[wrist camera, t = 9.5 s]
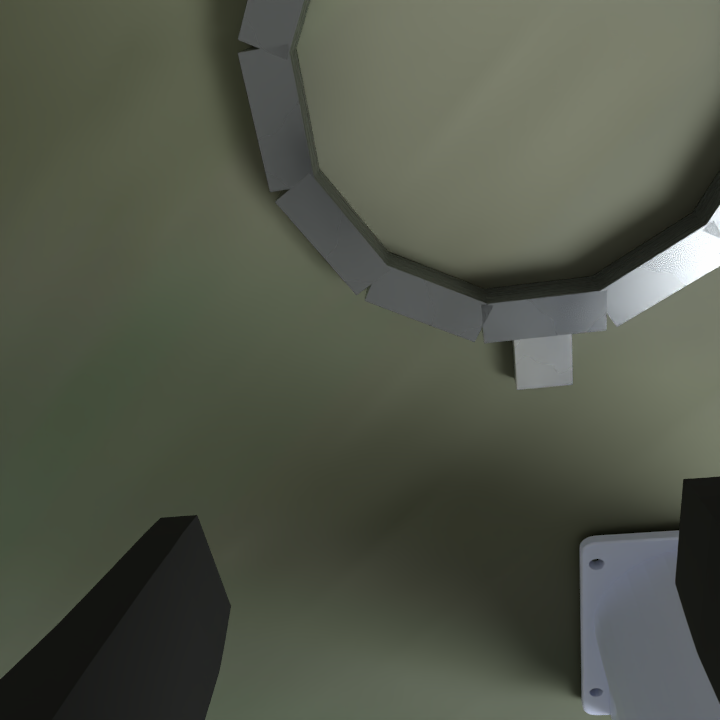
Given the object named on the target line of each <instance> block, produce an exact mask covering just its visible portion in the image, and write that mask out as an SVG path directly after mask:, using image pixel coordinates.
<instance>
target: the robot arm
mask: <svg viewBox="0 0 720 720" xmlns="http://www.w3.org/2000/svg"><path fill="white" fill-rule="evenodd" d="M594 559H599V560H598V561H592V560H594ZM230 608H231V605H230V603H229V600H228V597H227V595H226V592H225V589H224V586H223V584H222V581H221V578H220V576H219V573H218V570H217V567H216V565H215V562H214V559H213V557H212V554H211V551H210V549H209V546H208V543H207V540H206V538H205V535H204V532H203V530H202V527H201V524H200V521H199V519H198V516H197V515H193V516H180V517H166V518H160V519H159V520H158V521H157V522H156V523H155V524H154V525H153V526H152V527H151V528H150V529H149V530H148V531H147V532H146V533H145V534H144V535H143V536H142V537H141V538H140V539H139V540H138V541H137V542H136V543H135V544H134V545H133V546H132V548H131V549H130V550H129V551H128V552H127V553H126V554H125V555H124V556H123V557H122V558H121V559H120V560H119V561H118V562H117V563H116V564H115V565H114V567H113V568H112V569H111V570H110V571H109V572H108V573H107V574H106V575H105V576H104V577H103V578H102V579H101V580H100V581H99V582H98V583H97V584H96V585H95V586H94V587H93V589H92V590H91V591H90V592H89V593H88V594H87V595H86V596H85V597H84V598H83V599H82V600H81V601H80V602H79V603H78V604H77V605H76V606H75V607H74V608H73V609H72V610H71V611H70V612H69V613H68V614H67V615H66V616H65V617H64V618H63V620H62V621H61V622H60V623H59V624H58V625H57V626H56V627H55V628H54V629H53V630H51V631H50V632H49V633H48V634H47V635H46V636H45V637H44V638H43V639H42V640H41V641H40V642H39V643H38V644H37V645H36V646H35V647H34V648H33V649H32V650H31V651H30V652H29V653H27V654H26V655H25V656H24V657H23V658H22V659H21V660H20V661H19V662H18V663H17V664H16V665H15V666H14V667H13V668H12V669H11V670H10V671H9V672H8V673H7V674H6V675H5V676H4V677H2V678H1V679H0V720H205V717H206V714H207V711H208V707H209V704H210V701H211V697H212V694H213V691H214V687H215V684H216V681H217V677H218V674H219V670H220V665H221V660H222V654H223V649H224V644H225V638H226V632H227V626H228V620H229V614H230ZM580 622H581V698H582V705H583V709H584V711H586V712H587V713H589V714H591V715H611V718H612V720H720V477H709V478H696V479H683V491H682V503H681V515H680V528H679V530H676V531H660V532H644V533H629V534H613V535H597V536H590V537H587V538H586V539H584V540H583V541H582V542H581V544H580Z"/></svg>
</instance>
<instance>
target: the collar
mask: <svg viewBox="0 0 720 720" xmlns="http://www.w3.org/2000/svg"><path fill="white" fill-rule="evenodd" d="M309 3H310V0H248V1H247V5H246V9H245V13H244V17H243V21H242V25H241V29H240V33H239V37H238V40H240V41H242V42H245V43H247V44H249V45H252V46H254V48H249V49H246V50H243V51H241V52H239V53H238V56H239V61H240V65H241V69H242V74H243V78H244V82H245V87H246V91H247V95H248V99H249V104H250V108H251V112H252V117H253V121H254V125H255V130H256V134H257V138H258V143H259V147H260V151H261V156H262V160H263V164H264V168H265V173H266V177H267V181H268V186H269V190H270V192H273V191H280V190H283V191H282V192H281V193H280V195H279V197H278V198H277V200H276V201H275V202H276V204H277V205H278V206H279V207H280V208H281V209H282V210H283V212H284V213H285V214H286V215H287V216H288V217H289V218H290V220H291V221H292V222H293V223H294V224H295V225H296V226H297V228H298V229H299V230H300V231H301V232H302V233H303V235H304V236H305V237H306V238H307V239H308V240H309V241H310V243H311V244H312V245H313V246H314V247H315V248H316V249H317V251H318V252H319V253H320V254H321V255H322V256H323V257H324V259H325V260H326V261H327V262H328V263H329V264H330V265H331V267H332V268H333V269H334V270H335V271H336V272H337V273H338V275H339V276H340V277H341V278H342V279H343V280H344V281H345V283H346V284H347V285H348V286H349V287H350V288H351V289H352V291H353V292H354V293H355V294H356V295H357V294H359V293H360V292H361V291H363V290H364V289H365V288H367V291H366V296H365V301H367V302H369V303H372V304H375V305H377V306H380V307H382V308H385V309H388V310H390V311H393V312H396V313H398V314H401V315H404V316H406V317H409V318H412V319H414V320H417V321H420V322H422V323H425V324H428V325H430V326H433V327H436V328H438V329H441V330H444V331H446V332H449V333H452V334H454V335H457V336H460V337H462V338H465V339H468V340H470V341H473V342H475V340H476V338H477V336H478V334H479V333H480V331H481V329H482V332H483V338H484V343H492V342H501V341H511V340H512V345H513V360H514V376H515V383H516V387H517V390H521V389H531V388H541V387H552V386H562V385H573V378H572V334H576V333H586V332H595V331H605V330H606V328H607V314H608V315H609V317H610V318H611V319H612V321H613V322H614V324H615V325H616V326H619V325H621V324H622V323H624V322H626V321H628V320H629V319H631V318H633V317H634V316H636V315H638V314H639V313H641V312H643V311H644V310H646V309H648V308H649V307H651V306H653V305H654V304H656V303H658V302H659V301H661V300H663V299H665V298H666V297H668V296H670V295H671V294H673V293H675V292H676V291H678V290H680V289H681V288H683V287H685V286H686V285H688V284H690V283H691V282H693V281H695V280H697V279H698V278H700V277H702V276H703V275H705V274H707V273H708V272H710V271H712V270H713V269H715V268H717V267H718V266H720V171H719V173H718V174H717V176H716V177H715V179H714V180H713V182H712V184H711V185H710V187H709V188H708V190H707V191H706V193H705V194H704V196H703V197H702V199H701V200H700V202H699V204H698V205H697V207H696V208H695V210H694V211H693V213H691V214H690V215H688V216H686V217H685V218H683V219H682V220H680V221H679V222H677V223H675V224H674V225H672V226H671V227H669V228H667V229H666V230H664V231H663V232H661V233H660V234H658V235H656V236H655V237H653V238H652V239H650V240H649V241H647V242H645V243H644V244H642V245H641V246H639V247H637V248H636V249H634V250H633V251H631V252H630V253H628V254H626V255H625V256H623V257H622V258H620V259H619V260H617V261H615V262H614V263H612V264H611V265H609V266H607V267H606V268H604V269H603V270H601V271H600V272H598V273H596V274H595V275H593V276H591V277H583V278H574V279H566V280H557V281H549V282H540V283H532V284H524V285H515V286H507V287H498V288H490V289H483V288H480V287H478V286H475V285H473V284H470V283H468V282H465V281H462V280H460V279H457V278H455V277H452V276H449V275H447V274H444V273H442V272H439V271H436V270H434V269H431V268H429V267H426V266H423V265H421V264H418V263H416V262H413V261H411V260H408V259H405V258H403V257H400V256H398V255H395V254H392V253H390V252H388V251H387V250H386V248H385V247H384V246H383V245H382V244H381V242H380V241H379V240H378V239H377V238H376V236H375V235H374V234H373V233H372V232H371V230H370V229H369V228H368V227H367V226H366V224H365V223H364V222H363V221H362V219H361V218H360V217H359V216H358V215H357V213H356V212H355V211H354V210H353V209H352V207H351V206H350V205H349V204H348V203H347V201H346V200H345V199H344V198H343V196H342V195H341V194H340V193H339V192H338V190H337V189H336V188H335V187H334V186H333V184H332V183H331V182H330V181H329V180H328V178H327V177H326V176H325V175H324V173H323V172H322V171H321V170H320V169H319V164H318V159H317V153H316V148H315V143H314V138H313V133H312V128H311V122H310V117H309V112H308V107H307V102H306V96H305V91H304V86H303V81H302V76H301V71H300V65H299V60H298V55H297V50H296V47H297V44H298V40H299V37H300V33H301V30H302V27H303V23H304V20H305V17H306V13H307V10H308V6H309Z"/></svg>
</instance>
